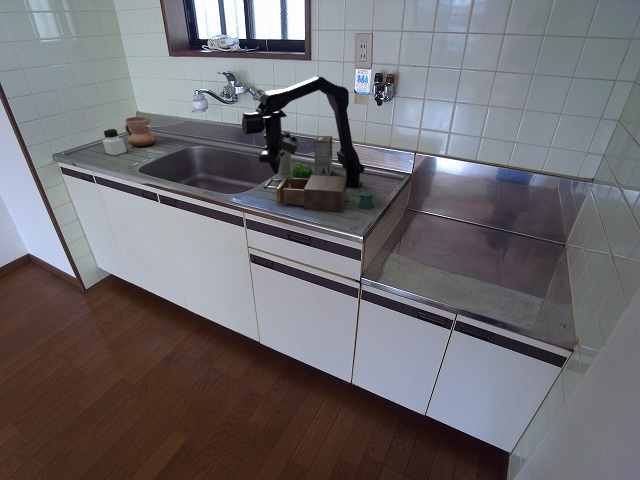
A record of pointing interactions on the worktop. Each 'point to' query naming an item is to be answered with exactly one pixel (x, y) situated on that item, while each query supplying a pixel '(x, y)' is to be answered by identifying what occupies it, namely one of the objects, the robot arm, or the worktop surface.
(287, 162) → the spray can
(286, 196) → the drawer
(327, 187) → the cabinet
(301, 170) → the bell pepper
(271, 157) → the robot arm
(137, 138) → the ceramic jug
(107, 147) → the medicine bottle
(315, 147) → the coffee box
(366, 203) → the tea tin
